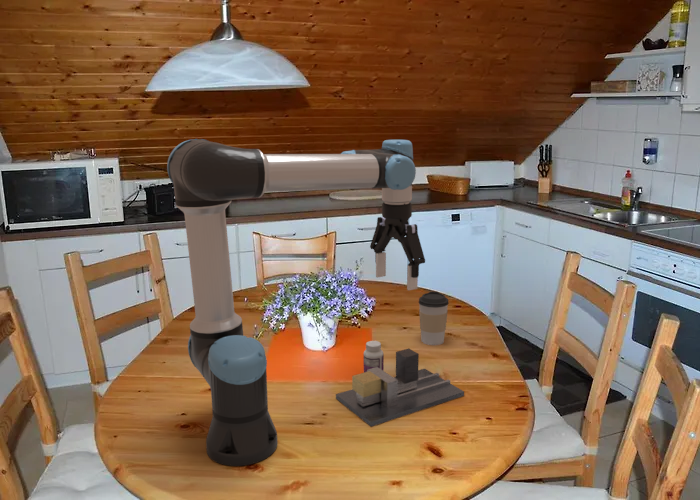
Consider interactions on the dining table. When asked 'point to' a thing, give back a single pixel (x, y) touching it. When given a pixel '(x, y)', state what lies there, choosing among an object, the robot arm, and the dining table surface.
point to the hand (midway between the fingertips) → (396, 282)
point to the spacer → (366, 384)
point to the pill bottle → (373, 356)
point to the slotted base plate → (401, 397)
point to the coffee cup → (433, 317)
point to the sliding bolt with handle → (398, 376)
